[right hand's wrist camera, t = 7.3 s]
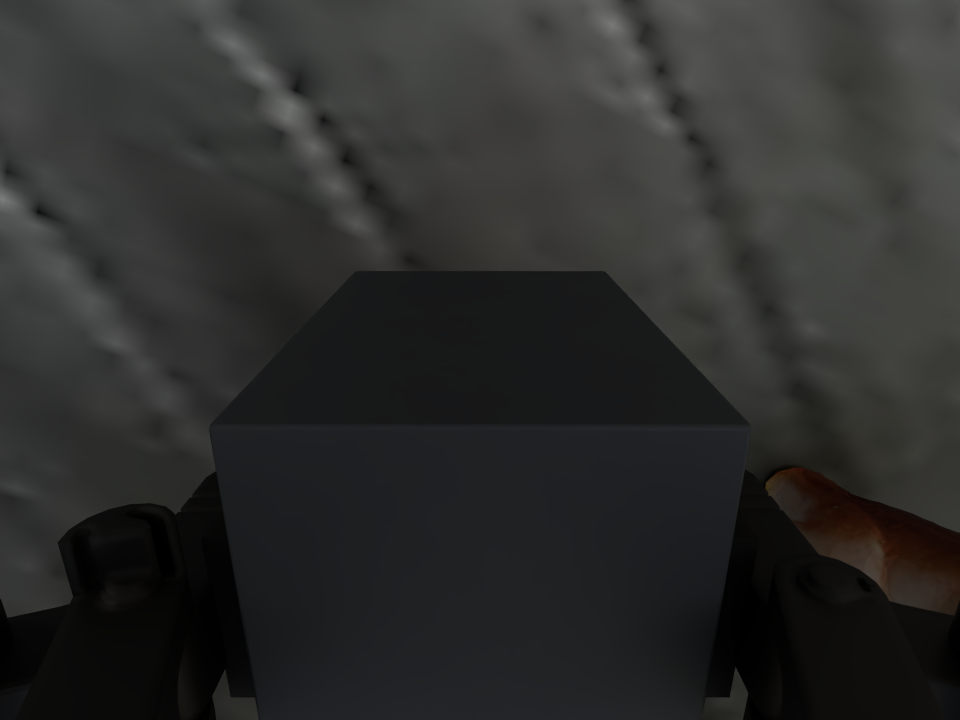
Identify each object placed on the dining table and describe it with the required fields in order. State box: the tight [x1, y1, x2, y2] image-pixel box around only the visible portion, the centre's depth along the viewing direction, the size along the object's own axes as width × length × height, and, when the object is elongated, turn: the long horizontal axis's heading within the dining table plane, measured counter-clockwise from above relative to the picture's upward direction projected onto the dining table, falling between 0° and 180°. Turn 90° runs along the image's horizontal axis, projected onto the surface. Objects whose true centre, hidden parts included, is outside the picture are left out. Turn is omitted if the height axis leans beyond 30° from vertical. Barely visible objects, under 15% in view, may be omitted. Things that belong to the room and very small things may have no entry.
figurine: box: [765, 467, 960, 615], centre depth 20 cm, size 6×8×15 cm
